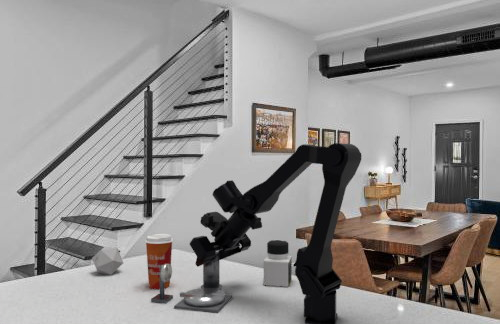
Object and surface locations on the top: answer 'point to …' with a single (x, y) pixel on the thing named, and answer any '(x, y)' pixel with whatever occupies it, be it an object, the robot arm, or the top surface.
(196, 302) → the platter
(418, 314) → the top surface
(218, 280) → the cylinder with brass cap
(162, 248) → the paper cup
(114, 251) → the die
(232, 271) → the top surface
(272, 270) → the medicine bottle
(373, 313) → the top surface
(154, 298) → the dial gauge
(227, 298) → the turntable base
